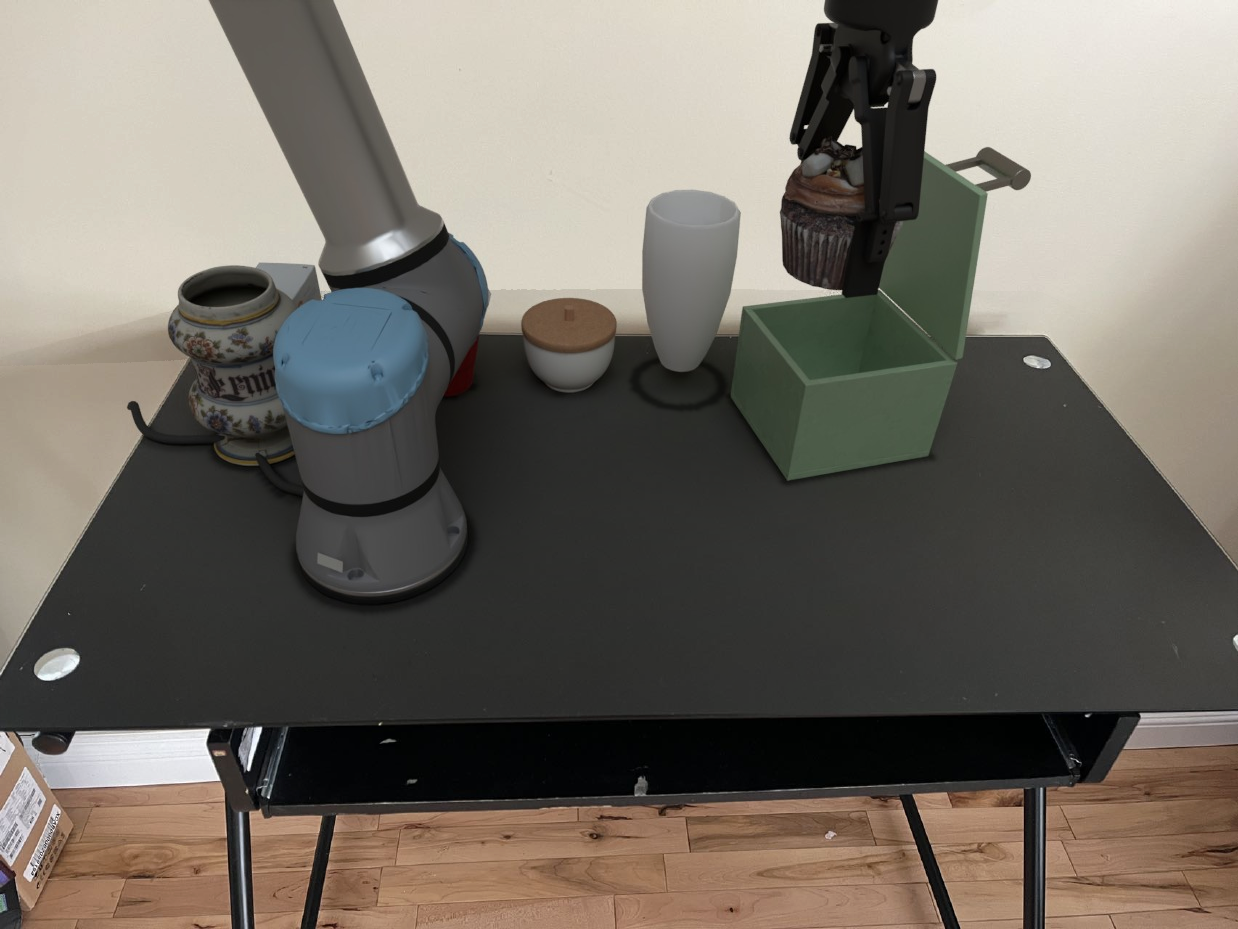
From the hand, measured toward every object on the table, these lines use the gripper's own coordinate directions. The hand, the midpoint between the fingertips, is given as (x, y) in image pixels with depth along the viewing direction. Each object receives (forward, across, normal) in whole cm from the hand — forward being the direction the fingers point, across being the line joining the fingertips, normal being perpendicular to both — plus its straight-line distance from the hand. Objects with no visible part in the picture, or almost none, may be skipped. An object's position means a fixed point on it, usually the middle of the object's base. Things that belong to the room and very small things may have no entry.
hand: (830, 264), depth 75 cm
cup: (+26, -23, -4) cm, 35 cm away
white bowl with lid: (+26, -26, -16) cm, 40 cm away
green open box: (+26, -11, +9) cm, 30 cm away
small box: (+26, -32, -47) cm, 62 cm away
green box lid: (+5, -11, +16) cm, 20 cm away
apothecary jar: (+26, -22, -50) cm, 61 cm away
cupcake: (0, 0, 0) cm, 0 cm away
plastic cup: (+26, -28, -30) cm, 49 cm away
